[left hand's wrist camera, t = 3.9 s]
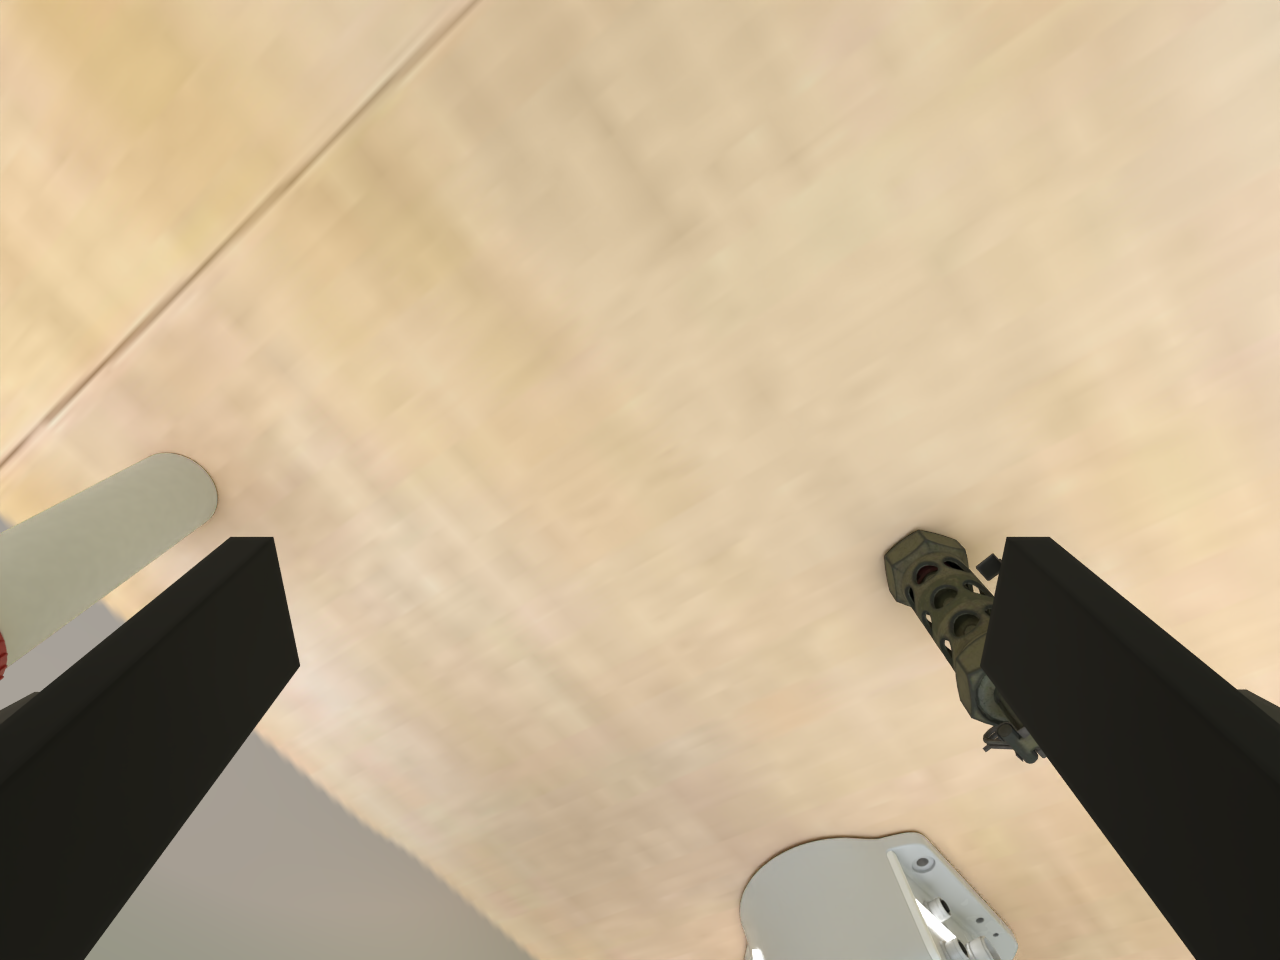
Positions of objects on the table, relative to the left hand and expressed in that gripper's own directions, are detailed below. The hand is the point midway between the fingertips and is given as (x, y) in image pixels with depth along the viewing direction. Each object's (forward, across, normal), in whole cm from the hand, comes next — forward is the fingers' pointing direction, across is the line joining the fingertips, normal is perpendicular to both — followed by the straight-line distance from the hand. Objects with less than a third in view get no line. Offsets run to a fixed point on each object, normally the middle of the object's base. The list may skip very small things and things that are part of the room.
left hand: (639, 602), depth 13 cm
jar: (+28, -28, -9) cm, 40 cm away
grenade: (+28, +19, -14) cm, 36 cm away
